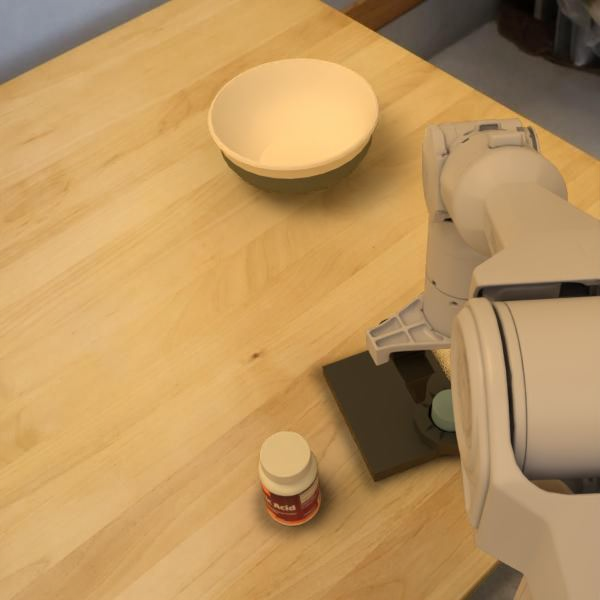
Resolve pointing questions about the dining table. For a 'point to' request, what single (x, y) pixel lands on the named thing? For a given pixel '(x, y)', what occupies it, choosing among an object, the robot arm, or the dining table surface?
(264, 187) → the bowl
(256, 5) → the dining table surface
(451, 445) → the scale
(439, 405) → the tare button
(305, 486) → the pill bottle
